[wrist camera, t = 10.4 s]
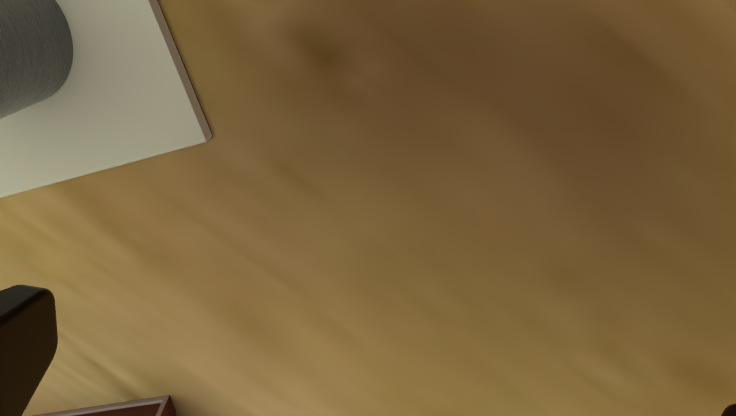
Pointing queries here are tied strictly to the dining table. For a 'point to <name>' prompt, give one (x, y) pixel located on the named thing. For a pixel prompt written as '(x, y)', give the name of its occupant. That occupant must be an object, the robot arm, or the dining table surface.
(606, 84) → the dining table surface
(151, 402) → the food container
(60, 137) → the rest pad
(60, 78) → the steel peg
